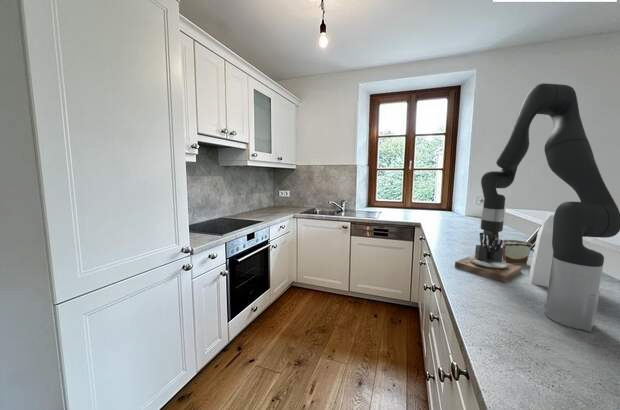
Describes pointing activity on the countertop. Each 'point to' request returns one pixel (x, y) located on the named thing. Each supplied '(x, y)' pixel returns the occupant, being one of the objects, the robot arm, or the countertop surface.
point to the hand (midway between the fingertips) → (488, 258)
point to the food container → (516, 251)
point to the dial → (482, 260)
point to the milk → (543, 254)
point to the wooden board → (489, 270)
